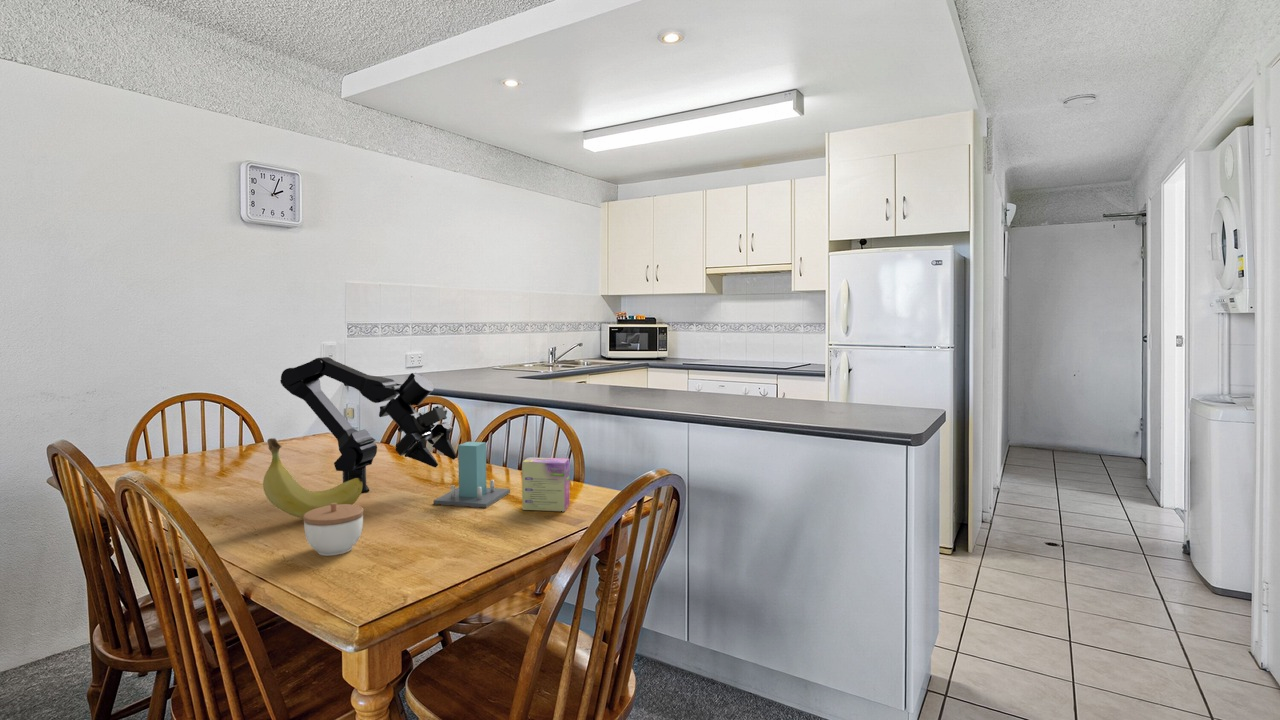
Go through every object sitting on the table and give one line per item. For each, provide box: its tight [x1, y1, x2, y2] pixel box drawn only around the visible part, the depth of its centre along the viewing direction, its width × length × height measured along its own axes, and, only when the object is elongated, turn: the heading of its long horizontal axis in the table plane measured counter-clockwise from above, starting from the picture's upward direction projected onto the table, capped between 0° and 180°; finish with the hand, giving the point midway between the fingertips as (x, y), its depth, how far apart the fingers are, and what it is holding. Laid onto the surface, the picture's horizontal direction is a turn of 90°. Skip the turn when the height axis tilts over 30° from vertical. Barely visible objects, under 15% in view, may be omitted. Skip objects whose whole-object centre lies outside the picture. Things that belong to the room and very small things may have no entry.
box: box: [521, 456, 571, 513], centre depth 157 cm, size 10×6×12 cm, turn 84°
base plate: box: [432, 479, 511, 508], centre depth 165 cm, size 14×14×4 cm
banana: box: [262, 437, 363, 519], centre depth 148 cm, size 23×6×20 cm, turn 146°
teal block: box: [457, 441, 488, 498], centre depth 165 cm, size 5×5×13 cm
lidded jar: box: [302, 503, 365, 557], centre depth 128 cm, size 11×11×9 cm
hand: (446, 462), depth 166 cm, fingers open, 9 cm apart
